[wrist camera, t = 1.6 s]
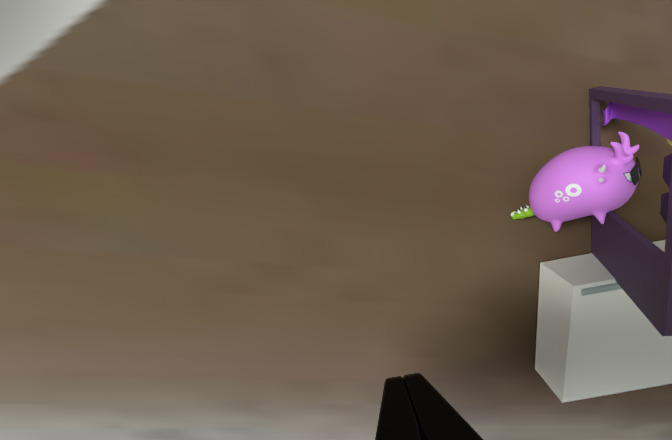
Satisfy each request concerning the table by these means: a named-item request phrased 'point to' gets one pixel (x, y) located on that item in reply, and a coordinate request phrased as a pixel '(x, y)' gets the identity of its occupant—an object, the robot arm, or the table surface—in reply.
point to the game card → (614, 199)
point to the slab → (595, 333)
